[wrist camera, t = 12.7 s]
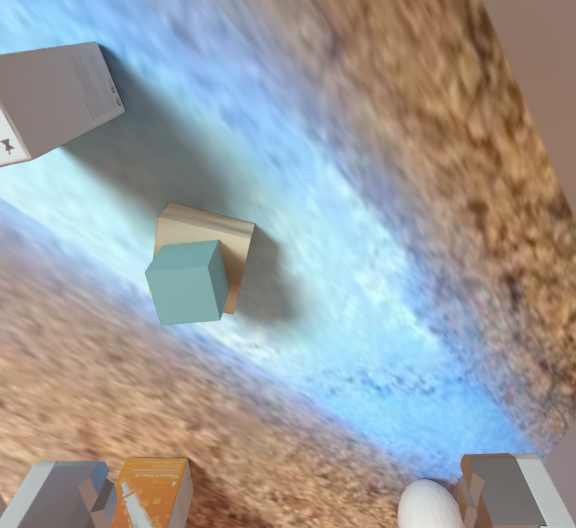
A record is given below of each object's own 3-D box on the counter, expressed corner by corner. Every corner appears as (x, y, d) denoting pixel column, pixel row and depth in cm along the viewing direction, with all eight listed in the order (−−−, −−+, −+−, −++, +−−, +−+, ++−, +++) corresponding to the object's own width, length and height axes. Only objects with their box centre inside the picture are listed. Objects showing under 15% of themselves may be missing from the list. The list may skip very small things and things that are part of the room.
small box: (188, 456, 57) (157, 564, 46) (195, 490, 60) (167, 600, 49) (124, 455, 58) (78, 562, 46) (134, 489, 61) (93, 598, 49)
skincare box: (98, 39, 36) (-24, 44, 23) (130, 116, 39) (37, 160, 26) (6, 69, 38) (-160, 91, 24) (42, 142, 40) (-89, 196, 27)
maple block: (171, 201, 42) (158, 216, 39) (255, 221, 43) (250, 239, 39) (161, 274, 46) (148, 295, 42) (238, 292, 47) (233, 314, 43)
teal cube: (163, 245, 40) (144, 272, 36) (218, 239, 40) (207, 266, 35) (176, 294, 42) (160, 325, 38) (229, 289, 42) (220, 320, 37)
